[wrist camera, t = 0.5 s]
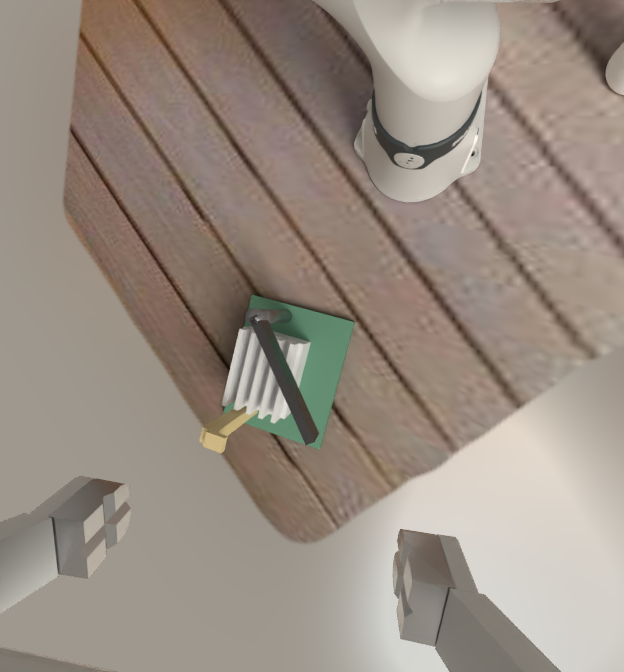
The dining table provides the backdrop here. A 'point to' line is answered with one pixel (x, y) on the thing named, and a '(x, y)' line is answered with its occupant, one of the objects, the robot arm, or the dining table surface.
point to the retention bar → (282, 367)
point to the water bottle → (616, 71)
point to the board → (261, 385)
